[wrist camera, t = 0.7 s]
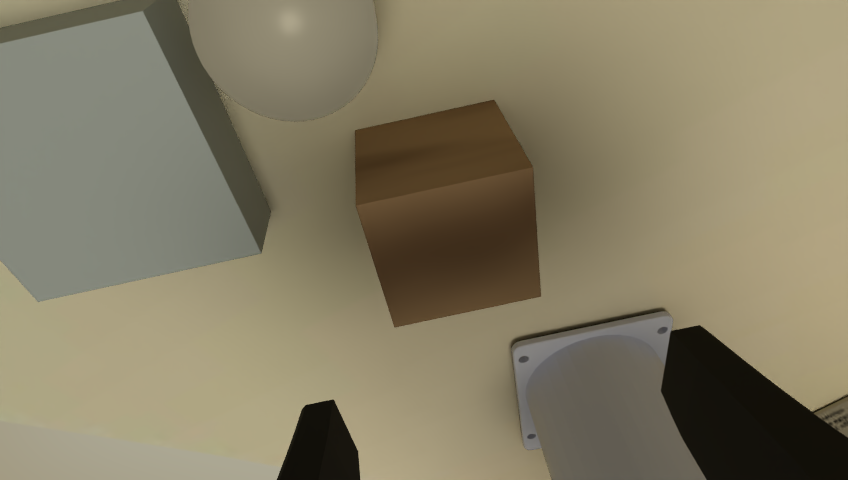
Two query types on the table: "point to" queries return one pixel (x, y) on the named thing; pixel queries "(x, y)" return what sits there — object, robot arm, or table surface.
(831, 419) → the product box
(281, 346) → the table surface
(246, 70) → the grey rounded lump
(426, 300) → the walnut cube
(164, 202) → the slate plinth
